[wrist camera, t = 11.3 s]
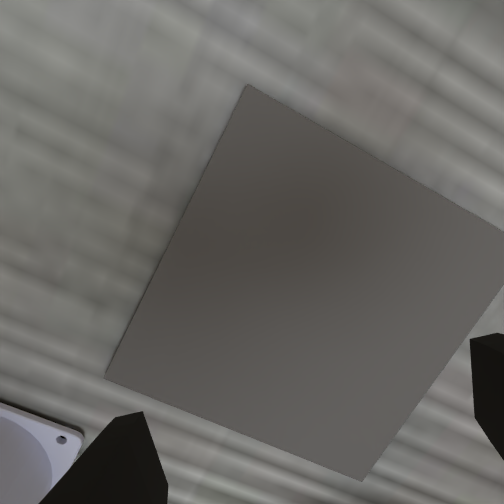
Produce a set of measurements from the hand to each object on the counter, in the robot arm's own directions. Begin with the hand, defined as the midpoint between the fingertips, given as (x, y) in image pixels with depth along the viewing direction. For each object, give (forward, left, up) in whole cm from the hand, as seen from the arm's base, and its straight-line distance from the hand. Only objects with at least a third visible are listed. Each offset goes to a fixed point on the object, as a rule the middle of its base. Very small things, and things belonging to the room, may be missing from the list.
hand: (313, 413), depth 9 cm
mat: (+3, -1, -10) cm, 11 cm away
